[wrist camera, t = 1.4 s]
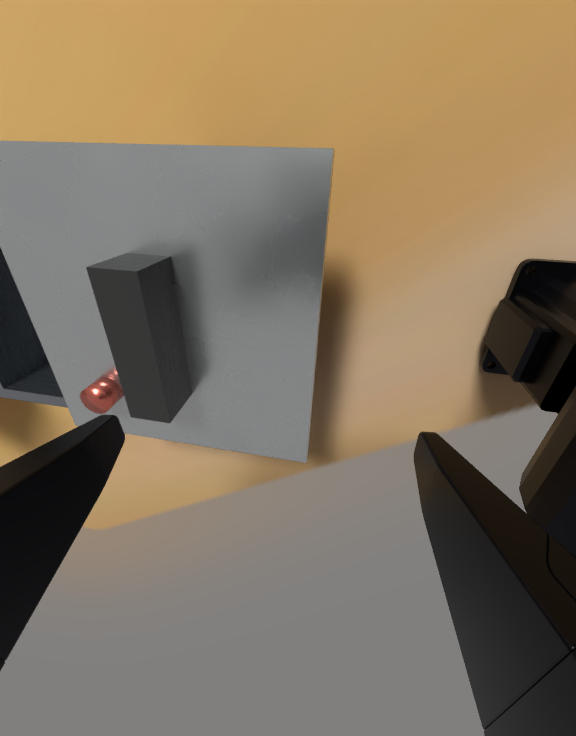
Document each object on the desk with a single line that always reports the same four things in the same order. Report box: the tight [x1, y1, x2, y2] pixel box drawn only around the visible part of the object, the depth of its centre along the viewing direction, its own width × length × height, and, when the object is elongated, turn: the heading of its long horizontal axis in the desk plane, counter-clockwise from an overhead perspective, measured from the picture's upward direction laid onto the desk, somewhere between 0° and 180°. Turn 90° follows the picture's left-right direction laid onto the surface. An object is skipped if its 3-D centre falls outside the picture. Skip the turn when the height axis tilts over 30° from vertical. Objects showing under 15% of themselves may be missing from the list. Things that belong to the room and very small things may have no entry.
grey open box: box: [0, 248, 68, 408], centre depth 19 cm, size 14×14×5 cm
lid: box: [0, 141, 335, 463], centre depth 15 cm, size 15×15×3 cm
